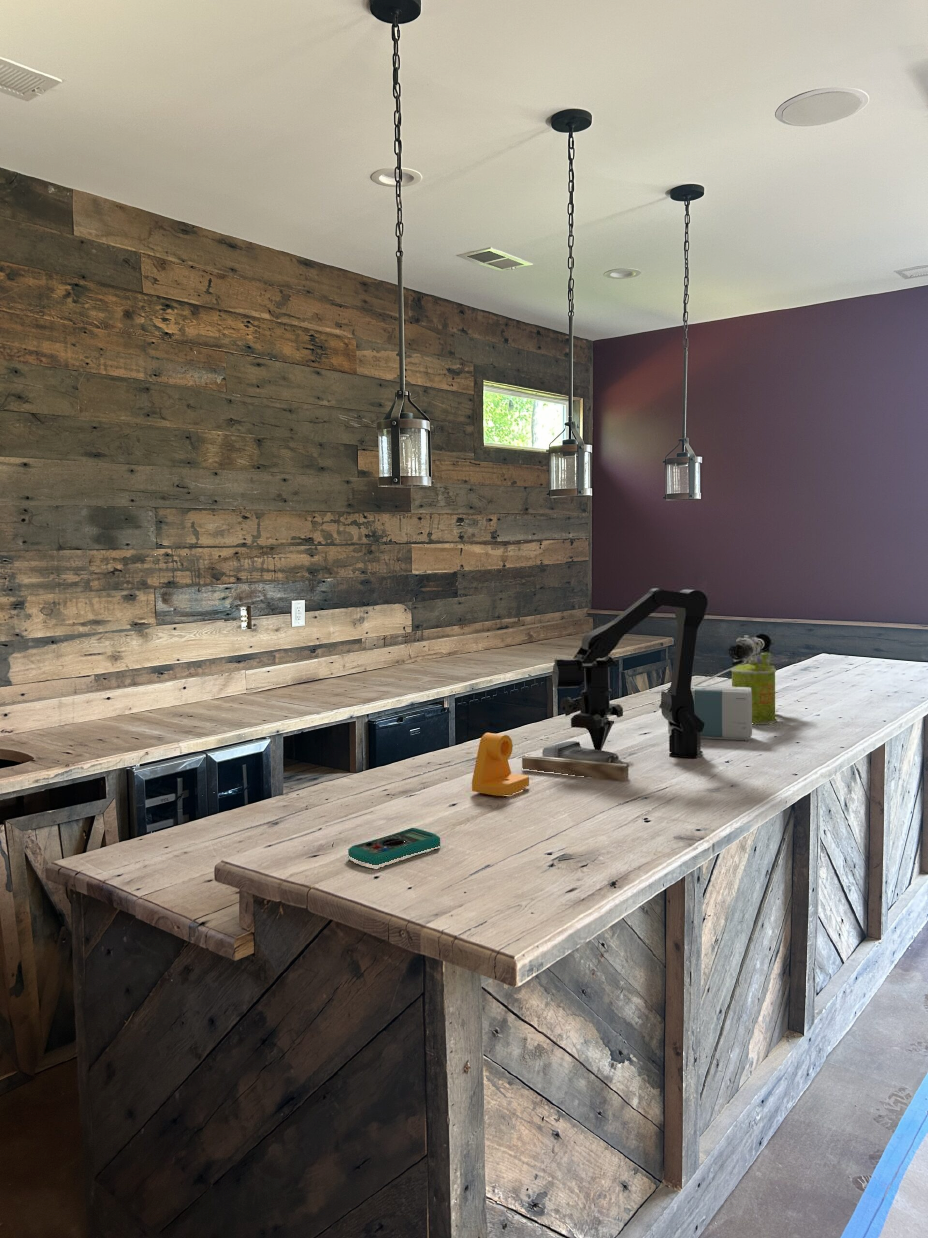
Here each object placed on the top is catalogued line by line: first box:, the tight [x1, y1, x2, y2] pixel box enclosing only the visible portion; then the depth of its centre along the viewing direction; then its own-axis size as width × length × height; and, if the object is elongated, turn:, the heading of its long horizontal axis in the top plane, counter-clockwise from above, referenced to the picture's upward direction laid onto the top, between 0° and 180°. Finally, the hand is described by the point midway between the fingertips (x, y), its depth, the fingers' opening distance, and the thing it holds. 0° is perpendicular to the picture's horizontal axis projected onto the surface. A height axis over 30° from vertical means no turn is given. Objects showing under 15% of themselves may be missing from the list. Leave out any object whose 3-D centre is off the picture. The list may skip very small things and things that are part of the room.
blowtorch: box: [728, 633, 778, 725], centre depth 258 cm, size 13×33×25 cm, turn 148°
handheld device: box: [541, 740, 624, 764], centre depth 210 cm, size 10×20×5 cm, turn 49°
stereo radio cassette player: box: [667, 661, 753, 742], centre depth 237 cm, size 21×8×20 cm, turn 68°
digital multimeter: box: [347, 827, 441, 865], centre depth 150 cm, size 7×15×3 cm, turn 134°
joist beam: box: [521, 754, 629, 782], centre depth 201 cm, size 24×3×3 cm, turn 61°
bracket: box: [471, 732, 530, 797], centre depth 188 cm, size 11×7×12 cm, turn 141°
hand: (598, 752), depth 214 cm, fingers closed
